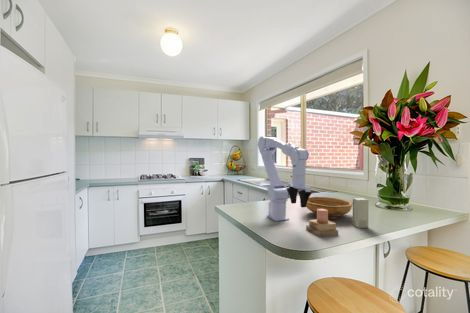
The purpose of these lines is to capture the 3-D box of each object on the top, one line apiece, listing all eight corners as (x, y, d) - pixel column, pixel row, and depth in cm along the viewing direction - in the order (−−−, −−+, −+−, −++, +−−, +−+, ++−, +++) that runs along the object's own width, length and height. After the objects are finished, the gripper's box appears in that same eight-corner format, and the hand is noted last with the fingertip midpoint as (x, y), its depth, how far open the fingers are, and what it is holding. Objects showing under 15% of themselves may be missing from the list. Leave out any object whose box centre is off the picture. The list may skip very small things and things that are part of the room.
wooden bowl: (315, 224, 104) (316, 207, 104) (291, 211, 128) (291, 197, 128) (368, 220, 111) (368, 204, 111) (335, 208, 134) (336, 195, 134)
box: (362, 224, 104) (363, 197, 104) (368, 228, 100) (369, 199, 100) (351, 224, 104) (352, 197, 104) (357, 228, 100) (357, 199, 99)
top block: (309, 225, 96) (309, 220, 96) (322, 224, 99) (322, 218, 99) (321, 231, 89) (321, 225, 89) (335, 229, 92) (335, 223, 92)
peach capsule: (314, 220, 96) (314, 209, 96) (323, 219, 97) (323, 208, 97) (321, 223, 91) (321, 211, 91) (330, 222, 93) (330, 211, 93)
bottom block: (306, 231, 97) (306, 225, 97) (323, 229, 100) (323, 223, 100) (320, 238, 88) (320, 232, 88) (338, 236, 91) (338, 230, 91)
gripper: (282, 173, 106) (282, 202, 106) (300, 177, 92) (300, 209, 92) (295, 173, 108) (294, 201, 108) (315, 176, 94) (314, 208, 94)
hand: (298, 205), depth 100 cm, fingers open, 7 cm apart
